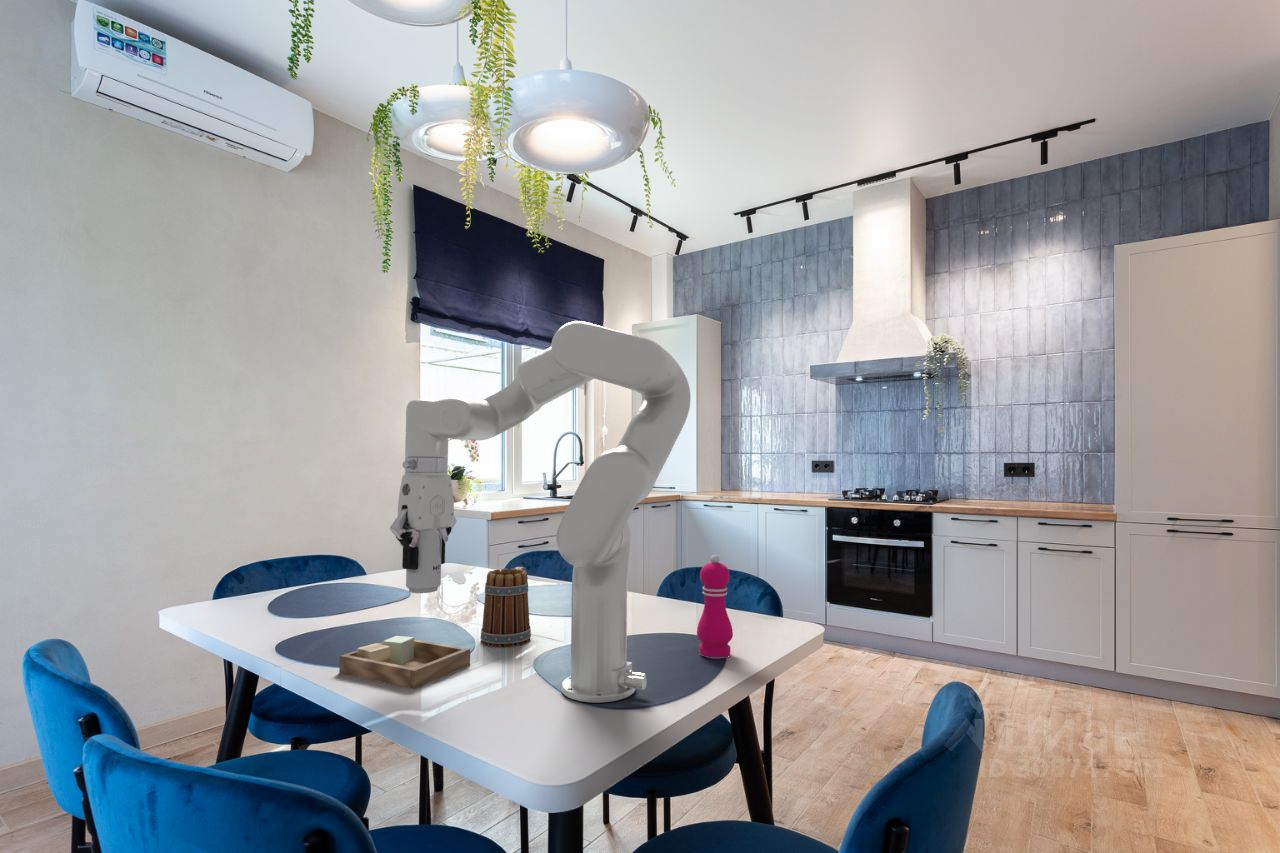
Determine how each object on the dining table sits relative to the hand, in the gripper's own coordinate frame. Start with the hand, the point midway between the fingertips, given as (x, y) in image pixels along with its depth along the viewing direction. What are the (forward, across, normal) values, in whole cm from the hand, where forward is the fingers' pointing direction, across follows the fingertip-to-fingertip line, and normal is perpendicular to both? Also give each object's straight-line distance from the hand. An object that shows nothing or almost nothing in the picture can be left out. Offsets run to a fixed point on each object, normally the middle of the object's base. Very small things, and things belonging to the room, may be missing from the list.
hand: (424, 565), depth 121 cm
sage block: (+19, +3, +9) cm, 21 cm away
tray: (+20, 0, +4) cm, 20 cm away
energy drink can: (+5, 0, 0) cm, 5 cm away
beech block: (+19, -3, +9) cm, 21 cm away
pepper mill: (+20, +36, -43) cm, 60 cm away
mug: (+20, +26, 0) cm, 33 cm away
